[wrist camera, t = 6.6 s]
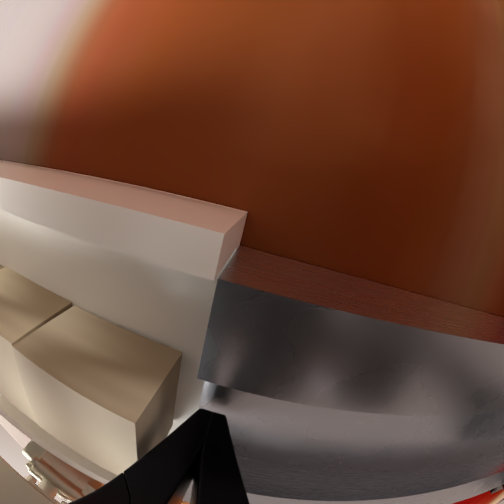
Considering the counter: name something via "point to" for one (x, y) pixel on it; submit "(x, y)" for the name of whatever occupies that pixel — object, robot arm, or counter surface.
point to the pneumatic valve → (43, 480)
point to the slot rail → (352, 387)
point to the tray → (118, 266)
